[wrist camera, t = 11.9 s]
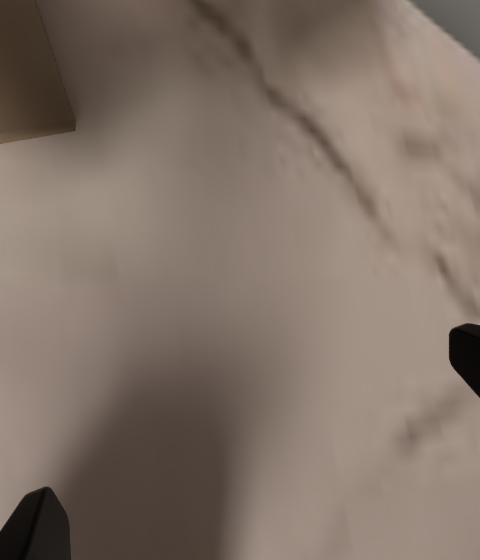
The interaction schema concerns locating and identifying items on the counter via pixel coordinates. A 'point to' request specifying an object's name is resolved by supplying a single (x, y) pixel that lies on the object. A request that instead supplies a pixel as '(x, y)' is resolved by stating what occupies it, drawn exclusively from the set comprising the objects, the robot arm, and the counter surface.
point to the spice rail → (29, 77)
